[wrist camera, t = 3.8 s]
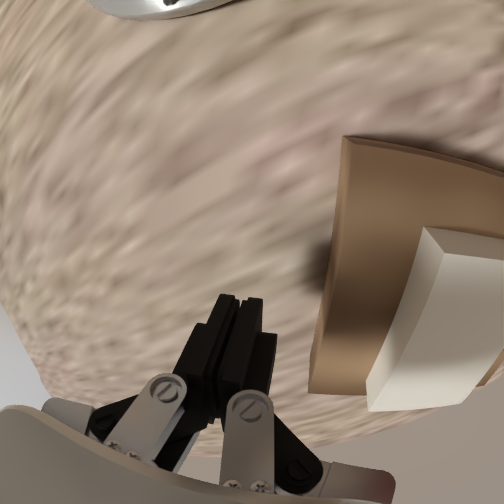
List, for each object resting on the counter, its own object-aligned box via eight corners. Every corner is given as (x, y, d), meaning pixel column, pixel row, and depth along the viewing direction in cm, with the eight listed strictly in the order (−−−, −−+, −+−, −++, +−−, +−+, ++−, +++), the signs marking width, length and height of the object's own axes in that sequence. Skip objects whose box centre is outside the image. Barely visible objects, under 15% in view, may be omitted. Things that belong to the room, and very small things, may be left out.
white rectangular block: (423, 226, 9) (444, 252, 7) (523, 243, 8) (546, 266, 6) (365, 380, 13) (368, 411, 11) (453, 377, 12) (460, 403, 10)
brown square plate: (342, 135, 10) (354, 144, 8) (542, 188, 8) (573, 207, 6) (310, 354, 17) (307, 393, 14) (472, 355, 15) (484, 385, 12)
